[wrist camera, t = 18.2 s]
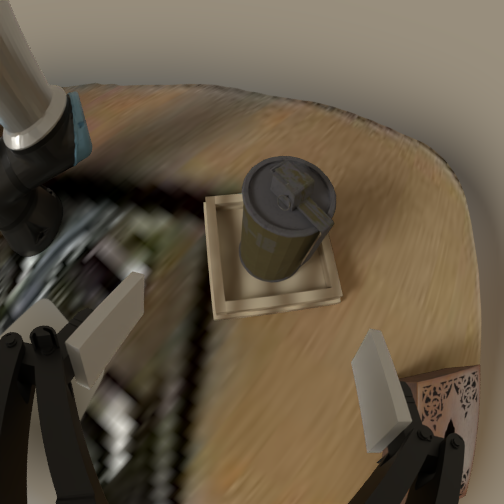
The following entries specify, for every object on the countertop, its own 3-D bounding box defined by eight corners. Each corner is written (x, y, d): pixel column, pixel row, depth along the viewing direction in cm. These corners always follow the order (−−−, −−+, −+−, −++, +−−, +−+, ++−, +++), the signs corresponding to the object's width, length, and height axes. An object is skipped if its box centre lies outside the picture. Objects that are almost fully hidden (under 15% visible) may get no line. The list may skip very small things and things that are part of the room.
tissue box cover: (436, 483, 33) (465, 495, 23) (375, 505, 32) (400, 526, 23) (445, 368, 42) (480, 364, 33) (384, 381, 41) (417, 382, 32)
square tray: (214, 320, 44) (212, 316, 40) (204, 206, 51) (202, 194, 47) (337, 303, 46) (346, 298, 42) (312, 198, 53) (318, 186, 49)
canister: (225, 246, 47) (221, 170, 28) (273, 211, 49) (294, 127, 31) (270, 298, 44) (297, 249, 25) (317, 257, 47) (366, 191, 28)
